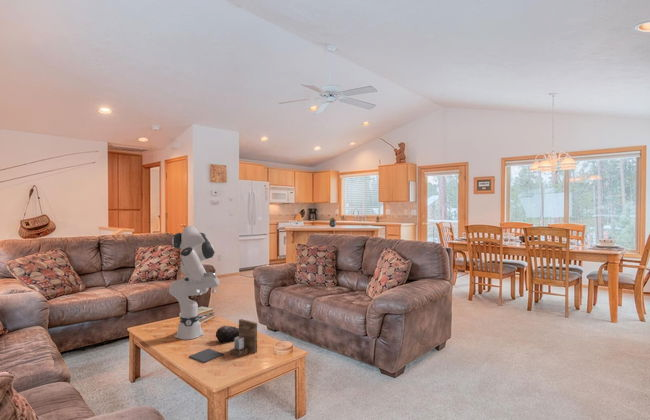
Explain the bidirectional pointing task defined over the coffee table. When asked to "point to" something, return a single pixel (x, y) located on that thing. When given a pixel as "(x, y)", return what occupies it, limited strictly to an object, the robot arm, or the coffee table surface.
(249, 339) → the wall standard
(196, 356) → the rubber mat
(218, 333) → the dark porous rock
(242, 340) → the light gray square block
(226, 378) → the coffee table surface
